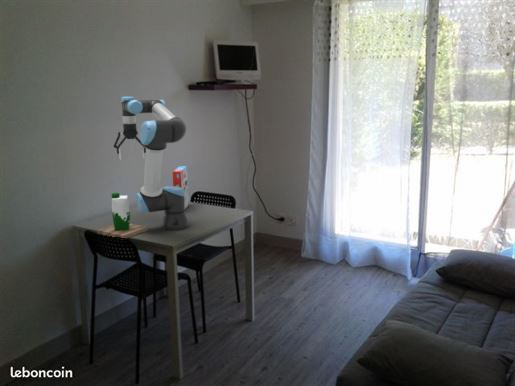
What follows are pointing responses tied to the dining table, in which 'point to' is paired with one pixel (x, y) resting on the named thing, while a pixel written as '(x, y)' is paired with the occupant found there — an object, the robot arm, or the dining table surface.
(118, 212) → the soya milk
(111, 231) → the wooden cutting board
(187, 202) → the game box
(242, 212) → the dining table surface
